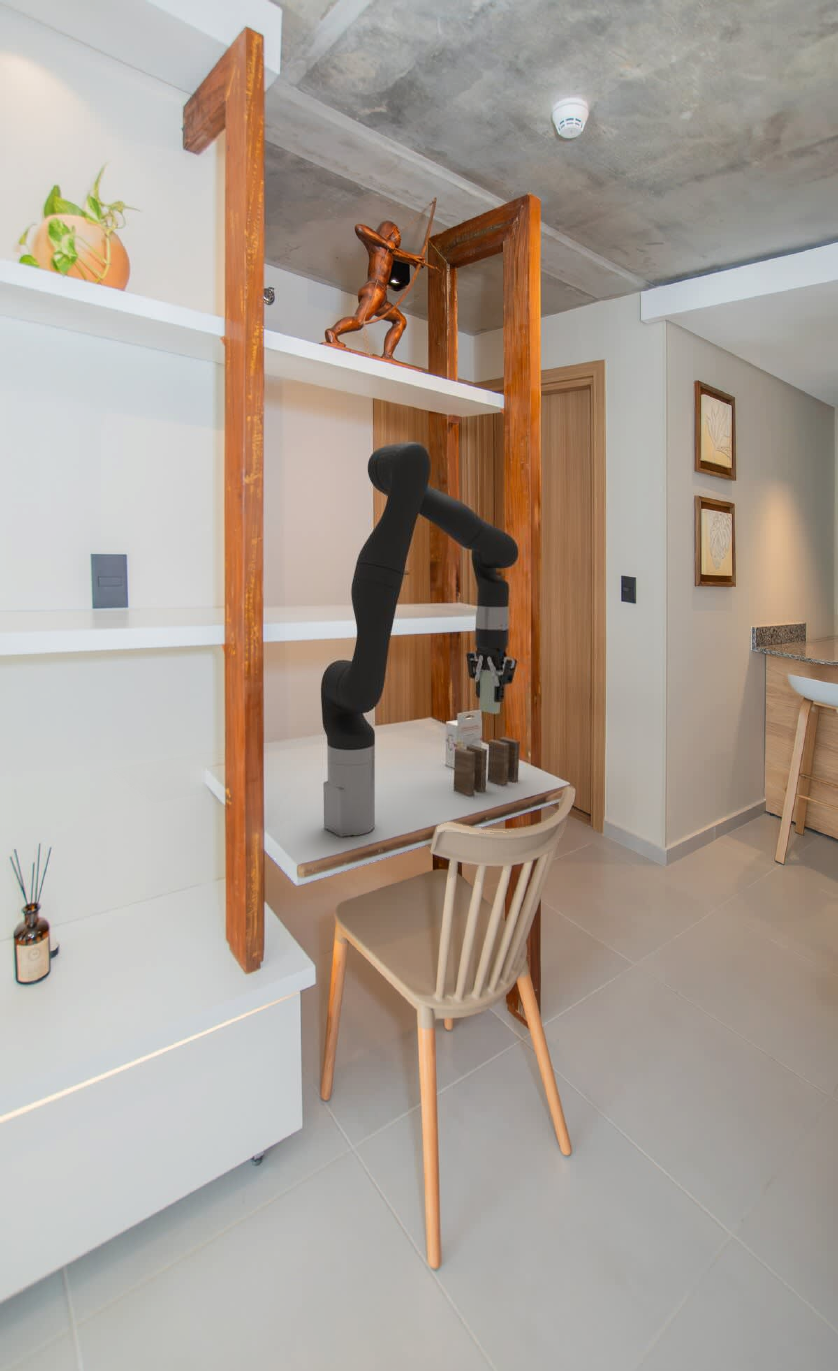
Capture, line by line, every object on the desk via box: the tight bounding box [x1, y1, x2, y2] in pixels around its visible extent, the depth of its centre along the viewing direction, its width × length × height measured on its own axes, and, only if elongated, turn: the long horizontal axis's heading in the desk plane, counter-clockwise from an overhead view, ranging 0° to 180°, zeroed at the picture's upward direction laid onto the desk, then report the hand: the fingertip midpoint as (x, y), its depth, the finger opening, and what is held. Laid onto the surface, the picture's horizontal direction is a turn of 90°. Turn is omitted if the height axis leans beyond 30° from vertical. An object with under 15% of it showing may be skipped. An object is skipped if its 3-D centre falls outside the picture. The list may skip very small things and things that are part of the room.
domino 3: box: [487, 739, 509, 786], centre depth 158 cm, size 2×5×10 cm, turn 41°
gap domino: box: [478, 669, 501, 715], centre depth 152 cm, size 2×5×10 cm, turn 41°
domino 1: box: [453, 748, 475, 797], centre depth 151 cm, size 2×5×10 cm, turn 41°
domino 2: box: [466, 745, 488, 794], centre depth 153 cm, size 2×5×10 cm, turn 41°
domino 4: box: [499, 736, 521, 783], centre depth 160 cm, size 2×5×10 cm, turn 41°
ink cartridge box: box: [445, 709, 483, 769], centre depth 171 cm, size 9×5×15 cm, turn 126°
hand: (489, 699), depth 152 cm, fingers closed on gap domino, 5 cm apart
